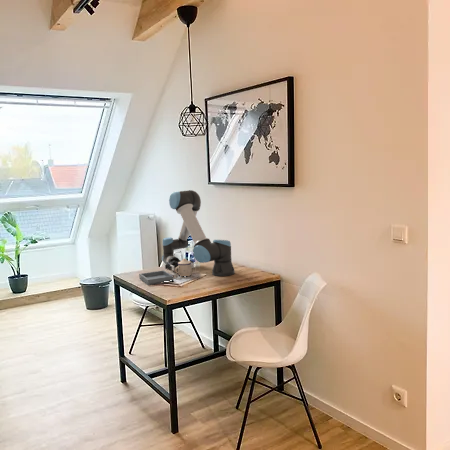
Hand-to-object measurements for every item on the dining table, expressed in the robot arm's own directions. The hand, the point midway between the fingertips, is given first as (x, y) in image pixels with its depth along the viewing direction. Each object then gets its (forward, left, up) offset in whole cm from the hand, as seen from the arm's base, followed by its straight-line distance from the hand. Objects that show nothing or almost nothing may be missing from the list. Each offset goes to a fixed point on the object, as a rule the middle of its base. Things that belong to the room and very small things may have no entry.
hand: (183, 267), depth 317 cm
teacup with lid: (0, -1, -7) cm, 7 cm away
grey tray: (+19, -1, -7) cm, 20 cm away
